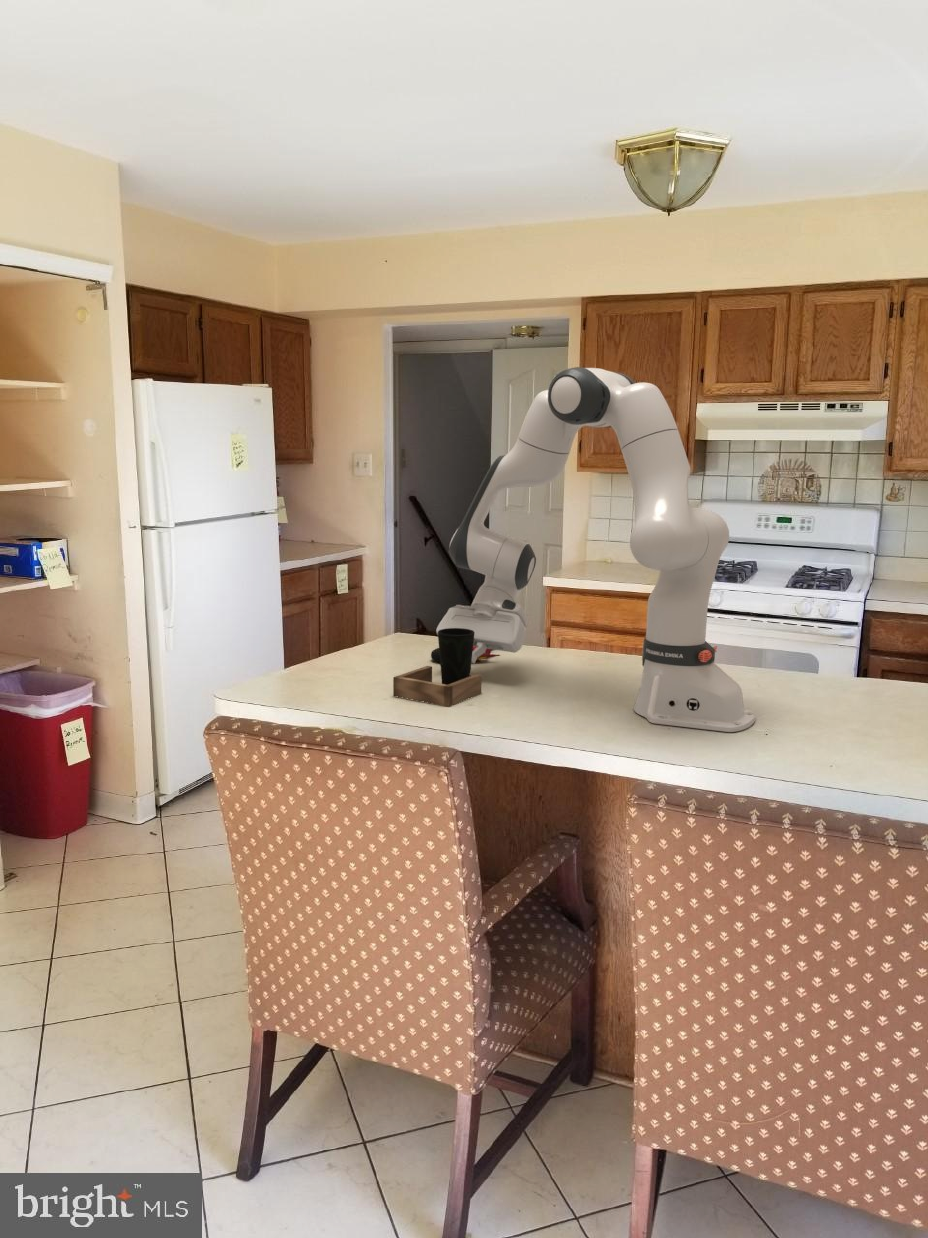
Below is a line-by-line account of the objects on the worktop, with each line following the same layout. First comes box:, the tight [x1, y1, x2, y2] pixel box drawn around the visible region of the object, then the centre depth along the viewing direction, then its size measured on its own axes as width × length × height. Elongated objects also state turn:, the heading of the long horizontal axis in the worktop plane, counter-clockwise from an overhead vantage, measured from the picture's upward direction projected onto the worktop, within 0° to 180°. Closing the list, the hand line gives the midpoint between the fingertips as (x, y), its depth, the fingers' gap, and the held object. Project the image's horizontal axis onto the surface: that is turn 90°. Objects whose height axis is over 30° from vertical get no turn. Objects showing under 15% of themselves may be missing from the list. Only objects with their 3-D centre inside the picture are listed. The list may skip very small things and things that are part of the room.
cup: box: [437, 628, 475, 685], centre depth 196 cm, size 8×8×12 cm
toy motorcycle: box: [430, 646, 501, 664], centre depth 228 cm, size 25×5×16 cm
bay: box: [392, 665, 483, 708], centre depth 191 cm, size 13×12×4 cm
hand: (466, 661), depth 200 cm, fingers closed, pressing on cup
